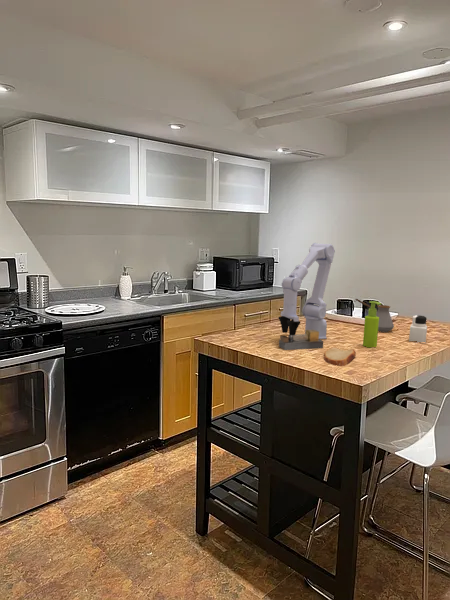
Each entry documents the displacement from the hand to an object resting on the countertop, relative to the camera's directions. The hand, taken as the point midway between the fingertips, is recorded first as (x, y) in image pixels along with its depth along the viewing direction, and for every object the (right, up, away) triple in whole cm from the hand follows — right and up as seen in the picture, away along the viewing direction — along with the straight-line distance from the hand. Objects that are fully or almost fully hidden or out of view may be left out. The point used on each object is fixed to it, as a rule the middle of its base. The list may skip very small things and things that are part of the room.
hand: (288, 334), depth 209 cm
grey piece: (+4, -5, -7) cm, 10 cm away
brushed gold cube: (+9, -2, -6) cm, 11 cm away
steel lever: (+3, -2, -8) cm, 9 cm away
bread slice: (+18, -8, -23) cm, 30 cm away
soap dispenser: (+36, -5, -1) cm, 36 cm away
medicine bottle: (+62, -4, +12) cm, 64 cm away
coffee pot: (+48, 0, +36) cm, 60 cm away
